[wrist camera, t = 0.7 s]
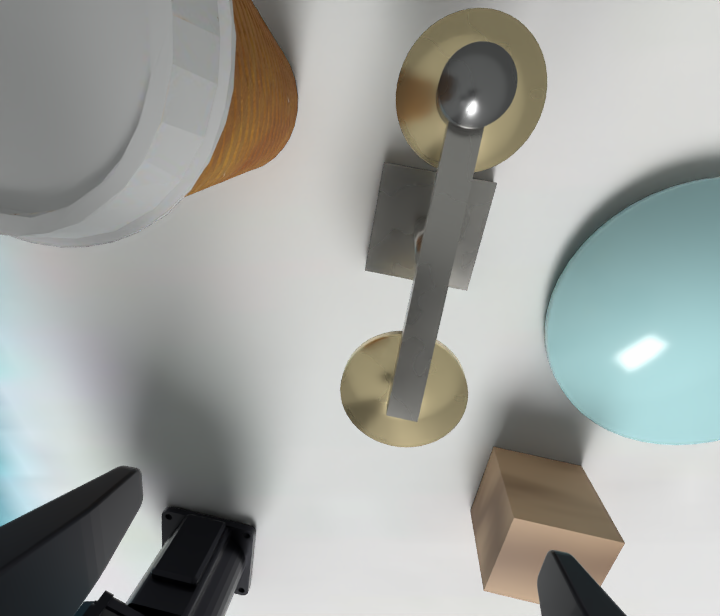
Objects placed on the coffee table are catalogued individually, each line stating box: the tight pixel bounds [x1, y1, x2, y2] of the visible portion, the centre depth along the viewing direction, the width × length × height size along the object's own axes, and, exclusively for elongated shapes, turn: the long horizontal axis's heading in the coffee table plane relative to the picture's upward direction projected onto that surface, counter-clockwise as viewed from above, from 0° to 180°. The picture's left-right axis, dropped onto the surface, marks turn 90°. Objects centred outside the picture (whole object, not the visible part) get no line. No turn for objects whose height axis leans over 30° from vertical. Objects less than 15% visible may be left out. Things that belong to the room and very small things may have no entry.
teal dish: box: [545, 177, 720, 445], centre depth 19 cm, size 13×13×1 cm
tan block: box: [470, 447, 625, 604], centre depth 21 cm, size 5×5×5 cm
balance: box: [340, 8, 547, 447], centre depth 15 cm, size 14×5×9 cm, turn 170°
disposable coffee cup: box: [0, 0, 298, 247], centre depth 13 cm, size 10×10×12 cm
